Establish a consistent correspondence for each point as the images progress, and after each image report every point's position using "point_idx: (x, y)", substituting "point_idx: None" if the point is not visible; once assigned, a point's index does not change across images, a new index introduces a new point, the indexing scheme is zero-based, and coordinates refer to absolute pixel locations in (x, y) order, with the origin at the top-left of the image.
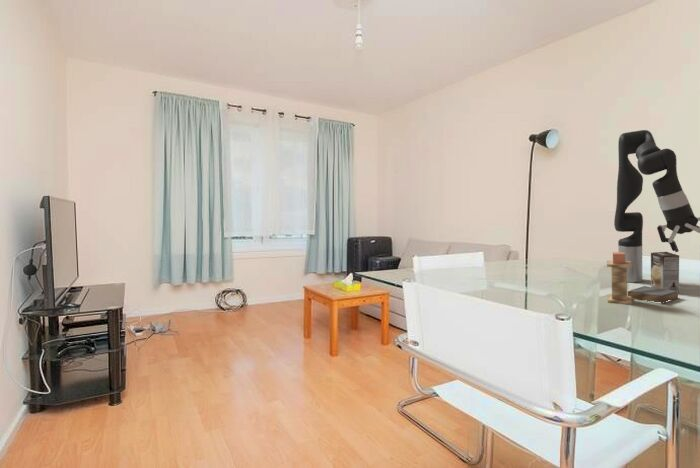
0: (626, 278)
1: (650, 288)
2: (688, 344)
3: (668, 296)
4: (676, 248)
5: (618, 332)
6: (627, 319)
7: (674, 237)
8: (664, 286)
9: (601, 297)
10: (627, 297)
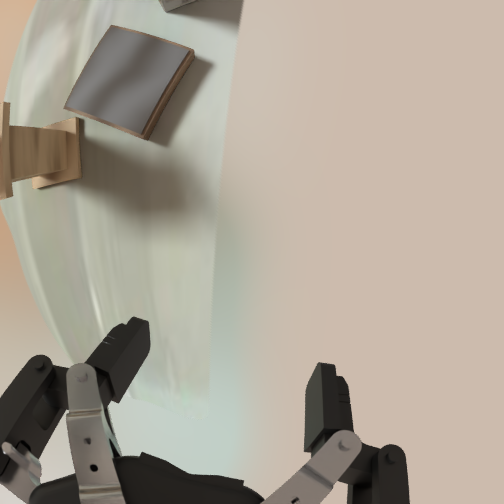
0: (28, 175)
1: (122, 47)
2: (202, 392)
3: (163, 102)
4: (138, 367)
5: None
6: (96, 314)
7: (116, 441)
8: (167, 2)
9: None
10: (67, 133)
